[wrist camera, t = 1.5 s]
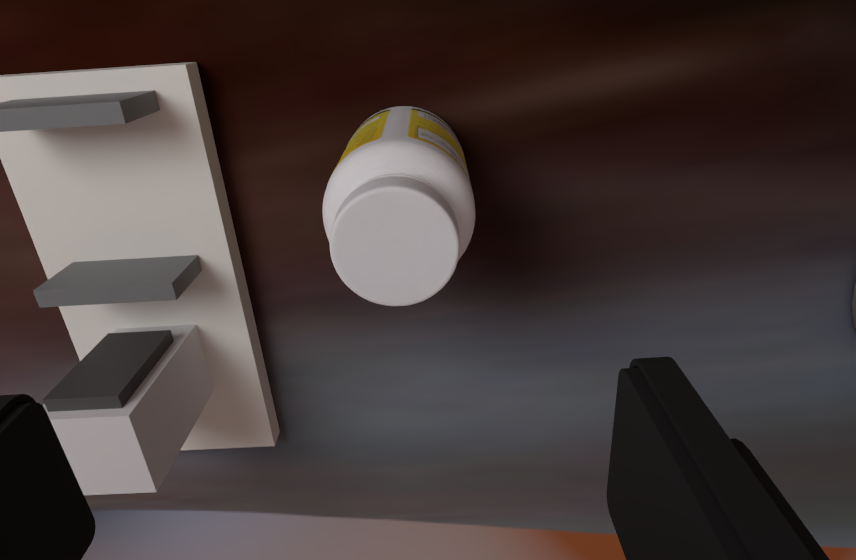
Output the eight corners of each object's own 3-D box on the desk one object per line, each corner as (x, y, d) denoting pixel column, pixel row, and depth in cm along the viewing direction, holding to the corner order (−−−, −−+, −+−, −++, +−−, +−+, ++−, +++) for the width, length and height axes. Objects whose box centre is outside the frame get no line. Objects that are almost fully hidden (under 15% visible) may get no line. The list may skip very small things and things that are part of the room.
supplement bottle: (350, 221, 27) (311, 325, 18) (343, 104, 25) (294, 159, 16) (463, 222, 27) (478, 326, 18) (467, 104, 25) (487, 160, 16)
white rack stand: (196, 62, 24) (92, 87, 17) (279, 431, 33) (235, 555, 25) (-11, 76, 24) (-203, 107, 17) (126, 438, 33) (39, 563, 26)
